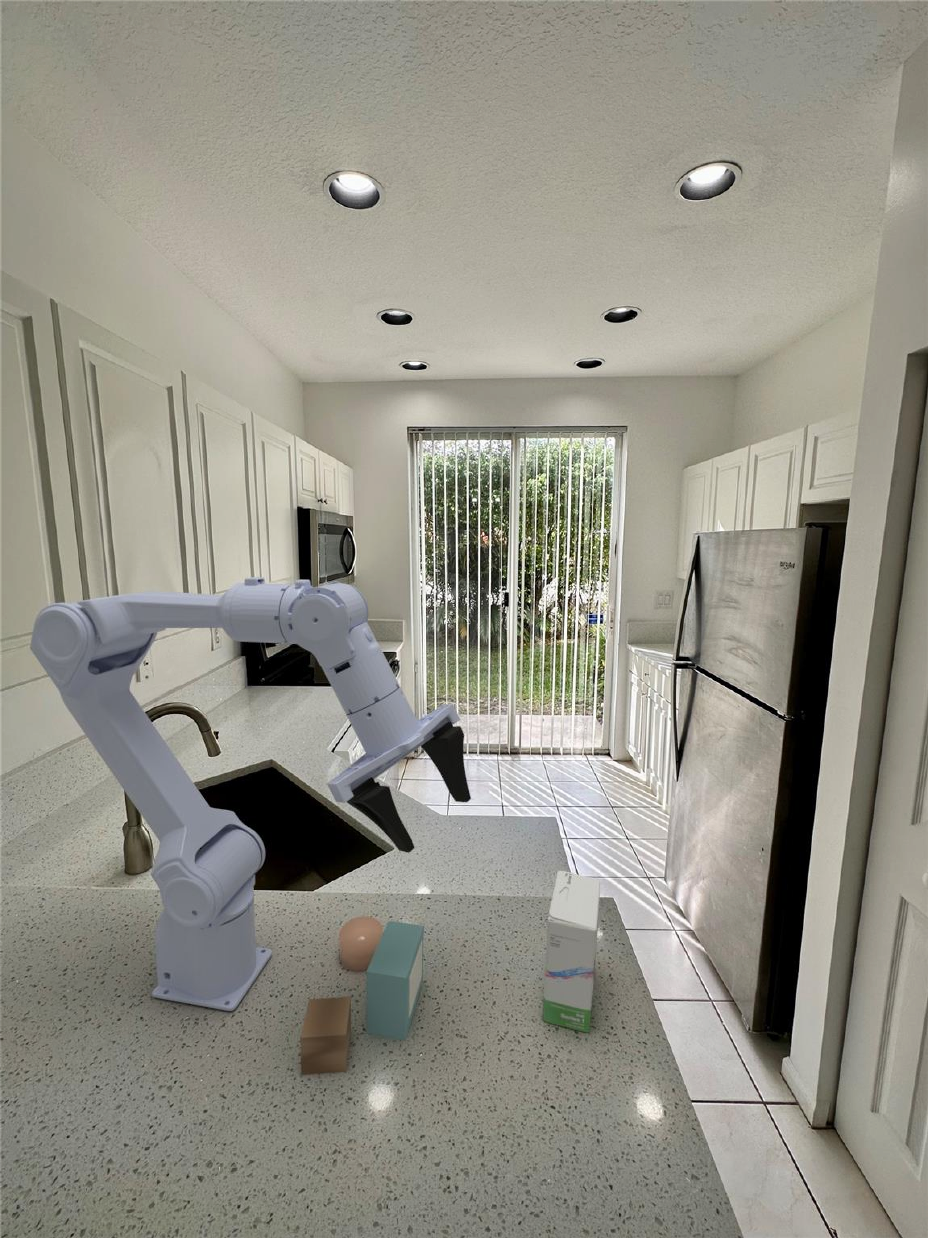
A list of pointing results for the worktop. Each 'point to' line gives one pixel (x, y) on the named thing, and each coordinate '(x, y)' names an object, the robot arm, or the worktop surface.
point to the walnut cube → (326, 1036)
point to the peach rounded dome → (359, 942)
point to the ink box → (571, 951)
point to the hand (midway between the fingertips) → (436, 823)
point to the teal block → (394, 980)
